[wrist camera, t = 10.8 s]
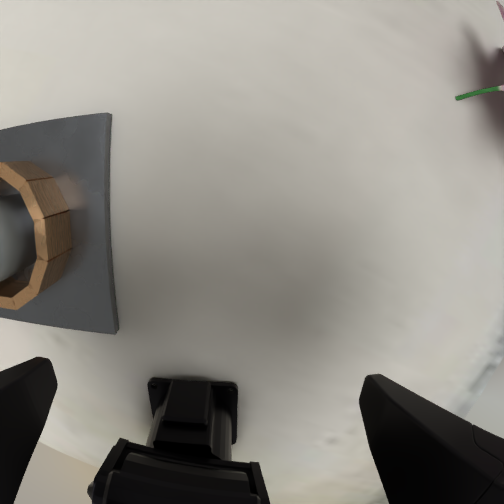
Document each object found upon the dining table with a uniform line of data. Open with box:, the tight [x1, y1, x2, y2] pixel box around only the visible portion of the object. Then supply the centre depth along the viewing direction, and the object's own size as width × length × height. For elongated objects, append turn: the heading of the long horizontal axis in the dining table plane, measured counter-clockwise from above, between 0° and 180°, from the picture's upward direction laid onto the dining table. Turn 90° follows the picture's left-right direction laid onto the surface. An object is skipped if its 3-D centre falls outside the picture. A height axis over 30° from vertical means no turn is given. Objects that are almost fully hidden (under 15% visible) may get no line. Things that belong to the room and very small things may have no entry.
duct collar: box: [0, 113, 119, 334], centre depth 16 cm, size 14×14×4 cm
